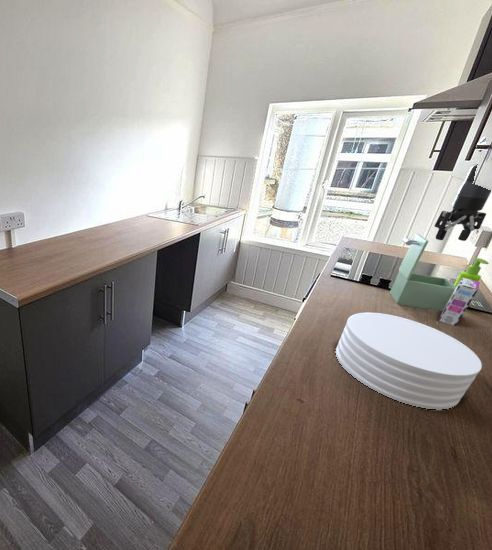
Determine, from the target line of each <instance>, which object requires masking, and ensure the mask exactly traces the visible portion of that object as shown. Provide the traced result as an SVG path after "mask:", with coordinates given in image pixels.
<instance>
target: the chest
mask: <svg viewBox="0 0 492 550" xmlns="http://www.w3.org/2000/svg"><path fill="white" fill-rule="evenodd" d="M455 289H456V287H455V286H454V283H452V282H451V281H450V280H448V279H447V278H444V277H439V276H432V275H427V274H420V273H414V272H413V273H412V275H411V277H410V279H409V280H408V279H406V278H405V277H404V275H403V274H402V273H401V272H400V271H399V270H398V273H397V275H396V278H395V280H394V282H393V284H392V286H391V288H390V290H389V294H390V296H391V297H392V298H393V301H395V303H396V304H397V305H402V306H407V307H413V308H416V309H417V308H418V309H422V310H429V309H430V310H434V311H440V312H442V311H443V310H444V308H445V306H446V304H447V303H448V301H449V299H450V297H451V296H452V294H453V292H454V291H455Z"/></svg>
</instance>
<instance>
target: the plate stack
mask: <svg viewBox="0 0 492 550" xmlns="http://www.w3.org/2000/svg"><path fill="white" fill-rule="evenodd" d="M335 350H336V351H334V354H335V353H336V355H335V358H336V357H337V358H336V360H337V359H338V361H339V362H338V361H337V362H338V364H339V363H340V364H341V365H342V366H341V365H340V364H339V365H340V366H341V368H342V367H343V368H344V369H345V370H346V371H347V372H348V373H349V374H351V375H352V376H353V377H354V378H356V379H357V380H358V381H360V382H361V383H363V384H364V385H366V386H368V387H369V388H371V389H373V390H375V391H377V392H378V393H377V392H376V393H377V394H379V393H381V394H383V395H385V396H387V397H389V398H392V399H394V400H397V401H399V402H398V403H400V402H402V403H401V404H403V403H405V404H404V405H406V404H409V405H412V406H411V407H413V406H416V407H415V408H417V407H421V408H426V409H425V410H427V409H436V410H435V411H443V410H442V409H447V410H450V409H449V408H451V409H453V408H455V407H456V406H458V404H459V403H460V402H461V399H462V398H463V397H464V396H465V394H466V392H467V390H469V388H470V387H471V385H472V384H473V382H474V381H475V379H476V378H477V375H478V374H479V373H480V371H482V368H483V363H482V361H481V359H480V358H479V356H478V355H477V354H476V353H475V352H474V351H473V349H470V348H469V347H468V346H467V345H465V343H464V344H463V343H462V342H461V341H460V340H458V339H456V338H454V337H453V336H451V335H449V334H446V333H445V332H443V331H441V330H438V329H436V328H434V327H432V326H429V325H427V324H423V323H420V322H419V321H415V320H412V319H408V318H405V317H401V316H397V315H392V314H387V313H382V312H381V313H380V312H371V311H370V312H369V311H368V312H357V313H354V314H352V315H350V316H349V317H348V318H347V320H346V323H345V326H344V328H343V331H342V333H341V335H340V338H339V340H338V343H337V345H336V348H335ZM343 368H342V369H343ZM344 369H343V370H344ZM345 370H344V371H345ZM346 371H345V372H346ZM347 372H346V373H347ZM348 373H347V374H348ZM349 374H348V375H349ZM351 375H350V376H351ZM352 376H351V377H352ZM353 377H352V378H353ZM354 378H353V379H354ZM356 379H355V380H356ZM357 380H356V381H357ZM358 381H357V382H358ZM360 382H359V383H360ZM361 383H360V384H361ZM363 384H362V385H363ZM364 385H363V386H364ZM366 386H365V387H366ZM368 387H367V388H368ZM369 388H368V389H369ZM371 389H370V390H371ZM373 390H372V391H373ZM375 391H374V392H375ZM381 394H380V395H381ZM383 395H382V396H383ZM385 396H384V397H385ZM387 397H386V398H387ZM389 398H388V399H389ZM392 399H391V400H392ZM394 400H393V401H394ZM397 401H396V402H397ZM409 405H408V406H409ZM454 406H455V407H454ZM452 407H453V408H452ZM421 408H420V409H421Z"/></svg>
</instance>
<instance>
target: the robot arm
mask: <svg viewBox="0 0 492 550" xmlns="http://www.w3.org/2000/svg"><path fill="white" fill-rule="evenodd" d="M483 144H486V138H485V136H482V138H481V139H479V141H478V142H477V144H476V146H477V145H483ZM477 151H478V152H479V153H480V152H481V151H482V150H481V149H477ZM477 165H478V162H476V163H474V164H473V165H471V167H470V169H469V170H468V172H467V175H466V177H465V178H464V181H463V183H461V186H460V187H459V189H458V192H457V193H456V195H455V197H454V200H453V202H452V204H451V208H452V210H451V211H446V210H442V211H440V214H439V216H438V218H437V219H436V222H435V223H434V225H433V226H434V228H437V229H438V230H437V232H436V235H435V239H436V240H438V241H443V240H444V239H445V237H446V235H447V233H448V230H450V229H451V228H452V227H455V226H457V225H461V226H462V228H463V229H462V230H461V232H460V234H459V236H458V238H457V239H458V240H459V241H462V242H466V241H467V240H468V238H469V236H470V235H471V233H472V232H473V231H474V230H477V231H478V230H480V229H481V227H482V224H483V222H484V220H485V218H486V216H487V213H486V212H483V211H482V210H483V209H484V207H485V205H486V203H487V201H488V200H489V197H490V195H491V193H492V191H491V190H488V189H486V188H483V187H481V186H478V185H475V183H474V184H472V183H473V181H474V176H475V171H476V168H477Z"/></svg>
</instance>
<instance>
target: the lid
mask: <svg viewBox="0 0 492 550" xmlns="http://www.w3.org/2000/svg"><path fill="white" fill-rule="evenodd" d="M401 241H402V242H403V243H404V244H405V245H406V246H409V248H408V249H407V252H406V253H405V256H404V258H403V260H402V262H401V264H400V266H399V268H398V272H399V271H400V272H401V273H402V274H403V275H404V277H405V278H406V279H408V280H409V279H410V277H411V275H412V273H414V271H415V270H416V268H417V265H418V263H419V261H420V259H421V257H422V255H423V254H424V252H425V250H426V247H427V245H428V244H429V242H430V241H429V240H428V239H426V238H425V237H423V236H422V235H420V234H419V233H415V235H414V237H413V239H410V238H408V237H407V236H406V237H403V238H402V239H401Z"/></svg>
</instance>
